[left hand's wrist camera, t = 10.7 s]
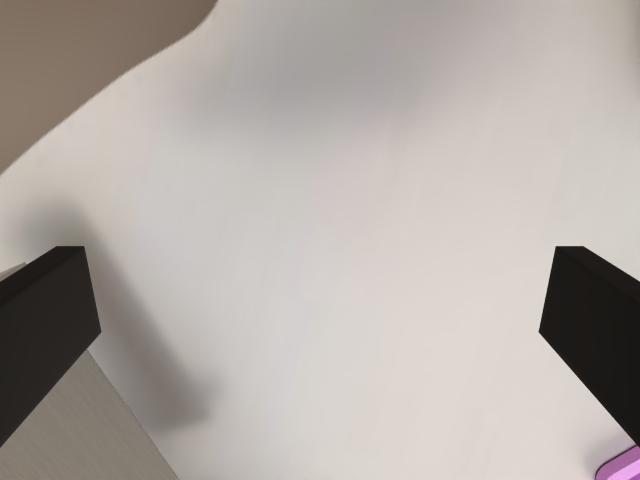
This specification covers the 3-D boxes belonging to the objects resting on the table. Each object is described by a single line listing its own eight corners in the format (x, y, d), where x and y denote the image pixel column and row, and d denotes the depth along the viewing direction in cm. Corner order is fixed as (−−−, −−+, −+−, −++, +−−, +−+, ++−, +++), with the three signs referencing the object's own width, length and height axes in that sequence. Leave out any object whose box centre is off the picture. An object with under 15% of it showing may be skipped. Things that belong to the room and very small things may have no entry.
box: (-48, 293, 32) (-245, 405, 21) (25, 261, 31) (-140, 360, 20) (137, 526, 40) (67, 697, 28) (198, 505, 39) (150, 673, 28)
